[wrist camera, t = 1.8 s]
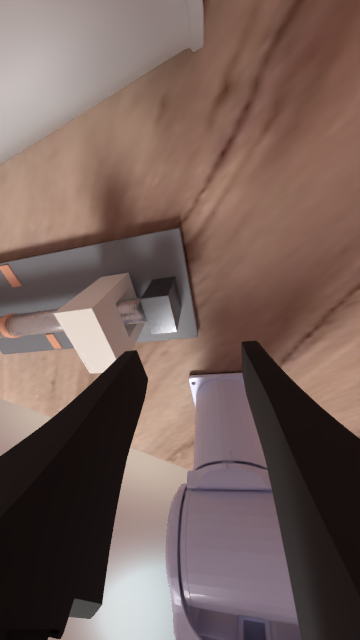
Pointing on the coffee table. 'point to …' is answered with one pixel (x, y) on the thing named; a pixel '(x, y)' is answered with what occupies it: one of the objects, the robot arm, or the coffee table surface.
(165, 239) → the rod board
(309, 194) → the coffee table surface
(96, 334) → the collar
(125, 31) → the tube
